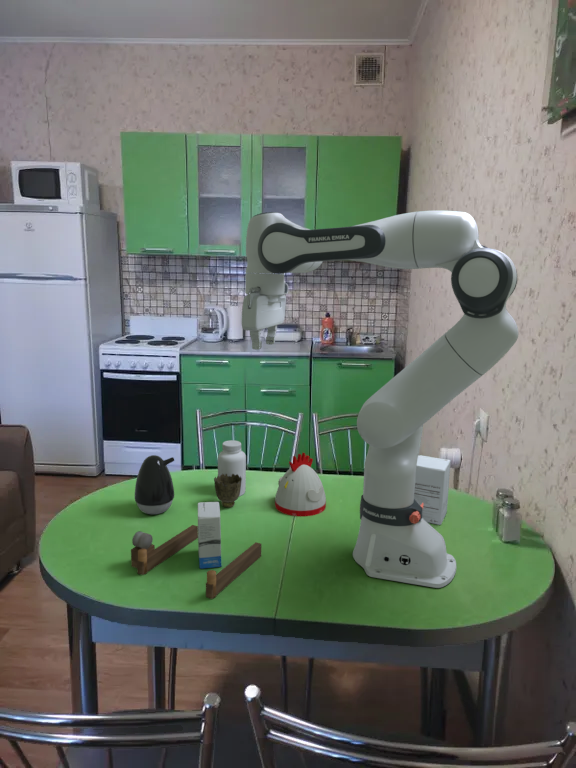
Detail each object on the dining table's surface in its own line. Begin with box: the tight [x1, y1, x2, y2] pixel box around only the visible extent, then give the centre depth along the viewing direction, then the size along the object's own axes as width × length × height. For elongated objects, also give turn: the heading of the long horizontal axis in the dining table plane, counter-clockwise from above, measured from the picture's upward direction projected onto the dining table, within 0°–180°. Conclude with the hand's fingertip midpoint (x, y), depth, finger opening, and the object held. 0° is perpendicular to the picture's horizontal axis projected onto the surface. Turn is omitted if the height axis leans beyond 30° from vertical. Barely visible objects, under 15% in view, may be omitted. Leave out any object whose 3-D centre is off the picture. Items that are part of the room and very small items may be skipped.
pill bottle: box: [217, 439, 247, 497], centre depth 157 cm, size 8×8×15 cm
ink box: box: [197, 501, 222, 570], centre depth 121 cm, size 9×5×12 cm, turn 9°
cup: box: [213, 473, 242, 508], centre depth 149 cm, size 8×7×8 cm
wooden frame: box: [130, 524, 262, 600], centre depth 120 cm, size 22×19×7 cm
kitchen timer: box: [274, 452, 327, 517], centre depth 149 cm, size 14×14×15 cm
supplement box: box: [414, 454, 451, 526], centre depth 145 cm, size 9×9×15 cm
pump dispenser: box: [134, 454, 175, 515], centre depth 145 cm, size 10×10×15 cm
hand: (263, 346), depth 129 cm, fingers open, 8 cm apart
